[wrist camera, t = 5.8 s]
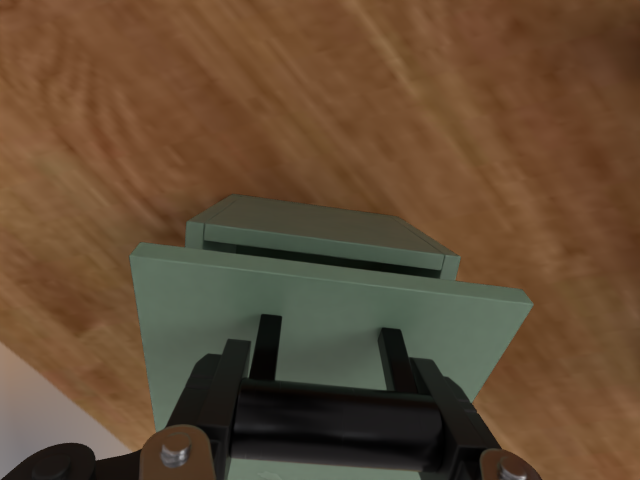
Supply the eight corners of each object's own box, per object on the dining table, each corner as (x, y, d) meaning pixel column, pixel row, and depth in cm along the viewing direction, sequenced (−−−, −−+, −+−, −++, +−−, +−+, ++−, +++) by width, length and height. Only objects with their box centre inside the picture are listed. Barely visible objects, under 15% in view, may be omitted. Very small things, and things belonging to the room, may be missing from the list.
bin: (232, 193, 26) (185, 220, 15) (398, 216, 27) (461, 256, 16) (217, 357, 29) (170, 474, 18) (367, 372, 30) (403, 489, 19)
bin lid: (140, 241, 11) (25, 382, 7) (522, 288, 12) (636, 435, 8) (170, 473, 18) (125, 610, 14) (403, 489, 19) (428, 620, 15)
